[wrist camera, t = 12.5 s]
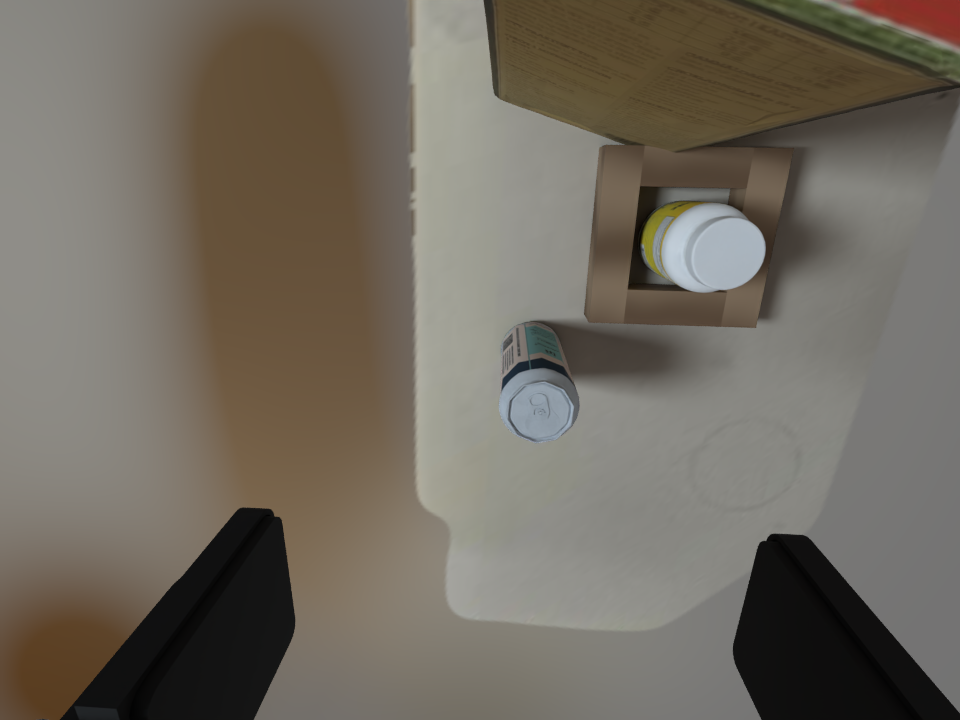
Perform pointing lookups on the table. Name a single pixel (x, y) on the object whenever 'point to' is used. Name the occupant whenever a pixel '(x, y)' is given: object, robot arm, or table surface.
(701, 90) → the food packaging
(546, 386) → the beer can
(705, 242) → the supplement bottle
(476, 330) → the table surface
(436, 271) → the table surface
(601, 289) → the wooden frame
